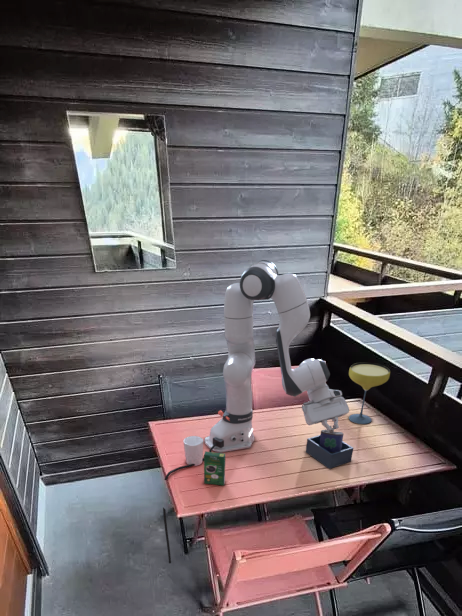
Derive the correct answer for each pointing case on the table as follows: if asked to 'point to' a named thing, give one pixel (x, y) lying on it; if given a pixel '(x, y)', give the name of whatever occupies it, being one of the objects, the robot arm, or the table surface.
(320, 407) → the robot arm
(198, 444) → the white cup
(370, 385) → the cocktail glass
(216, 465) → the coffee box
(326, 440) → the flask
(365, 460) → the table surface
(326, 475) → the table surface
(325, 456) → the tub
